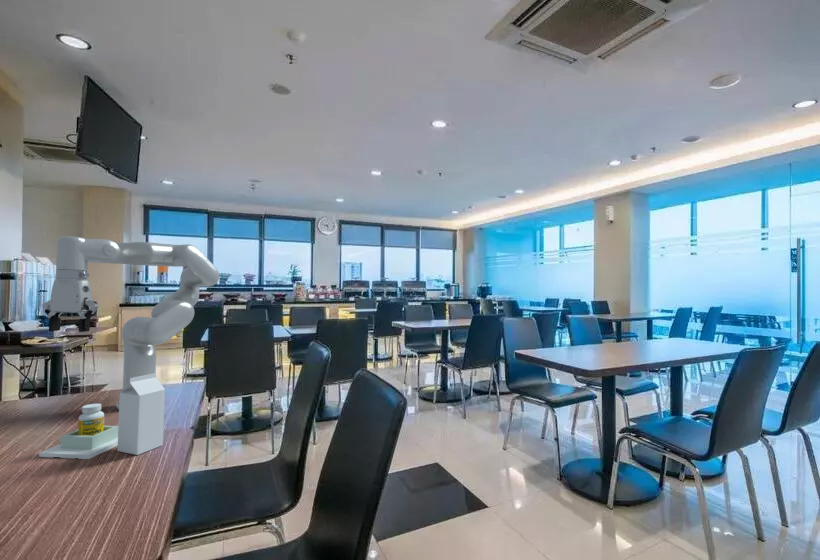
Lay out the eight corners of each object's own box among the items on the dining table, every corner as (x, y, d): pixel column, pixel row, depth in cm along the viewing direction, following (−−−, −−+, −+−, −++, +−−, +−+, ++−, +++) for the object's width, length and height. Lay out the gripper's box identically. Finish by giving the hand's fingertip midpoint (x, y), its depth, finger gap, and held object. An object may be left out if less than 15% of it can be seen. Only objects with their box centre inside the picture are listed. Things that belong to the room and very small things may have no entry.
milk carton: (163, 445, 106) (165, 374, 106) (136, 455, 99) (139, 379, 99) (143, 442, 108) (146, 372, 108) (117, 451, 101) (120, 377, 102)
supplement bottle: (101, 436, 108) (103, 401, 109) (105, 442, 105) (106, 405, 105) (76, 441, 105) (77, 405, 105) (78, 447, 101) (80, 409, 101)
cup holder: (91, 435, 112) (92, 420, 112) (135, 436, 111) (135, 422, 112) (39, 456, 97) (39, 440, 97) (88, 459, 96) (89, 442, 97)
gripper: (107, 277, 126) (105, 330, 126) (57, 276, 127) (54, 329, 127) (87, 276, 119) (85, 333, 118) (33, 275, 120) (30, 331, 119)
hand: (69, 331), depth 123 cm, fingers open, 9 cm apart
